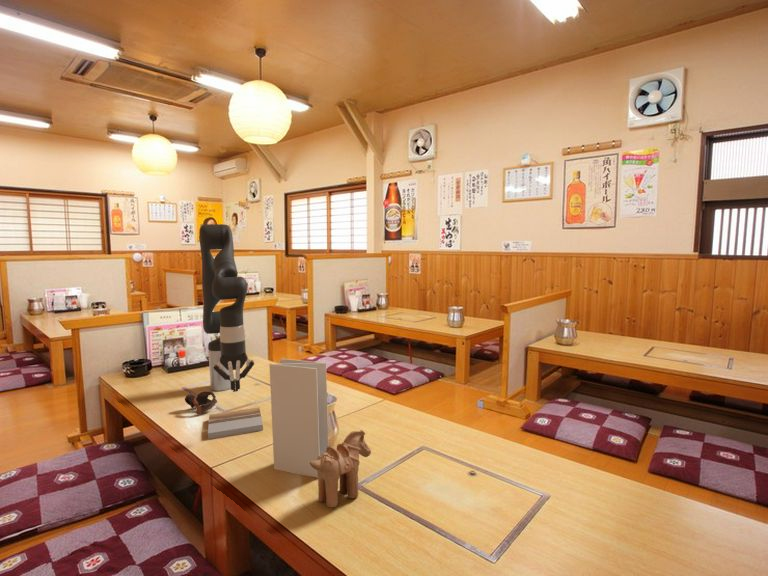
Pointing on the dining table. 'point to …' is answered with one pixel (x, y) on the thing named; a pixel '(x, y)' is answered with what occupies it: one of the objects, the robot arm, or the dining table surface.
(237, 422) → the slate plank
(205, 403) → the pottery mug
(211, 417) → the glossy brown slab
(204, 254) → the robot arm
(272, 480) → the dining table surface
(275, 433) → the brochure
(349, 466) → the figurine
